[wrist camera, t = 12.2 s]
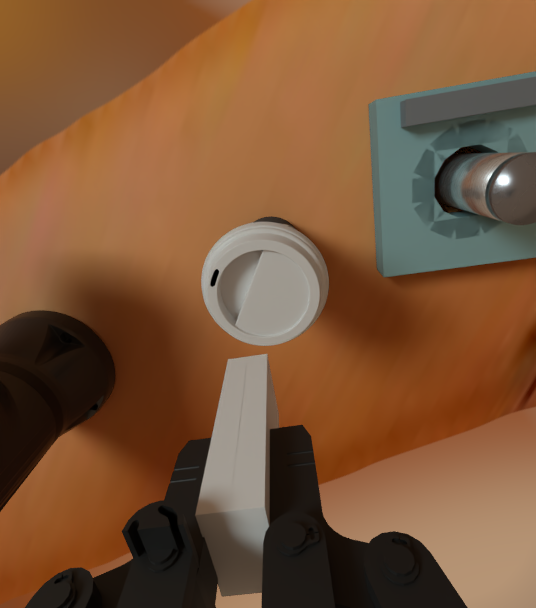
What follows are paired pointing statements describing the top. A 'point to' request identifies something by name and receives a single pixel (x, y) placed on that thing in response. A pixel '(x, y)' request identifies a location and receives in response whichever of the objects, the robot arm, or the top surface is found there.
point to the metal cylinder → (490, 185)
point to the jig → (426, 163)
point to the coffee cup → (265, 282)
